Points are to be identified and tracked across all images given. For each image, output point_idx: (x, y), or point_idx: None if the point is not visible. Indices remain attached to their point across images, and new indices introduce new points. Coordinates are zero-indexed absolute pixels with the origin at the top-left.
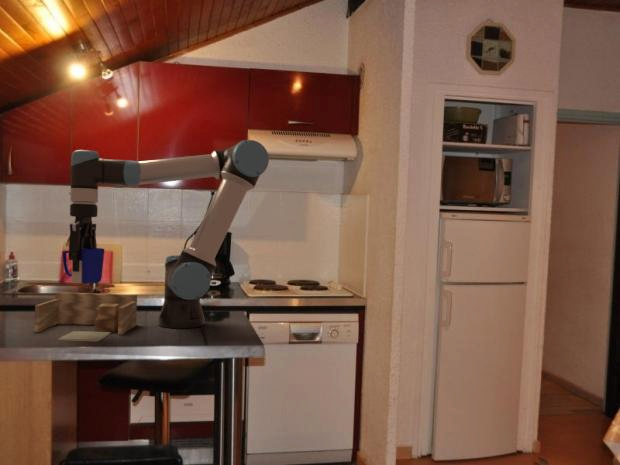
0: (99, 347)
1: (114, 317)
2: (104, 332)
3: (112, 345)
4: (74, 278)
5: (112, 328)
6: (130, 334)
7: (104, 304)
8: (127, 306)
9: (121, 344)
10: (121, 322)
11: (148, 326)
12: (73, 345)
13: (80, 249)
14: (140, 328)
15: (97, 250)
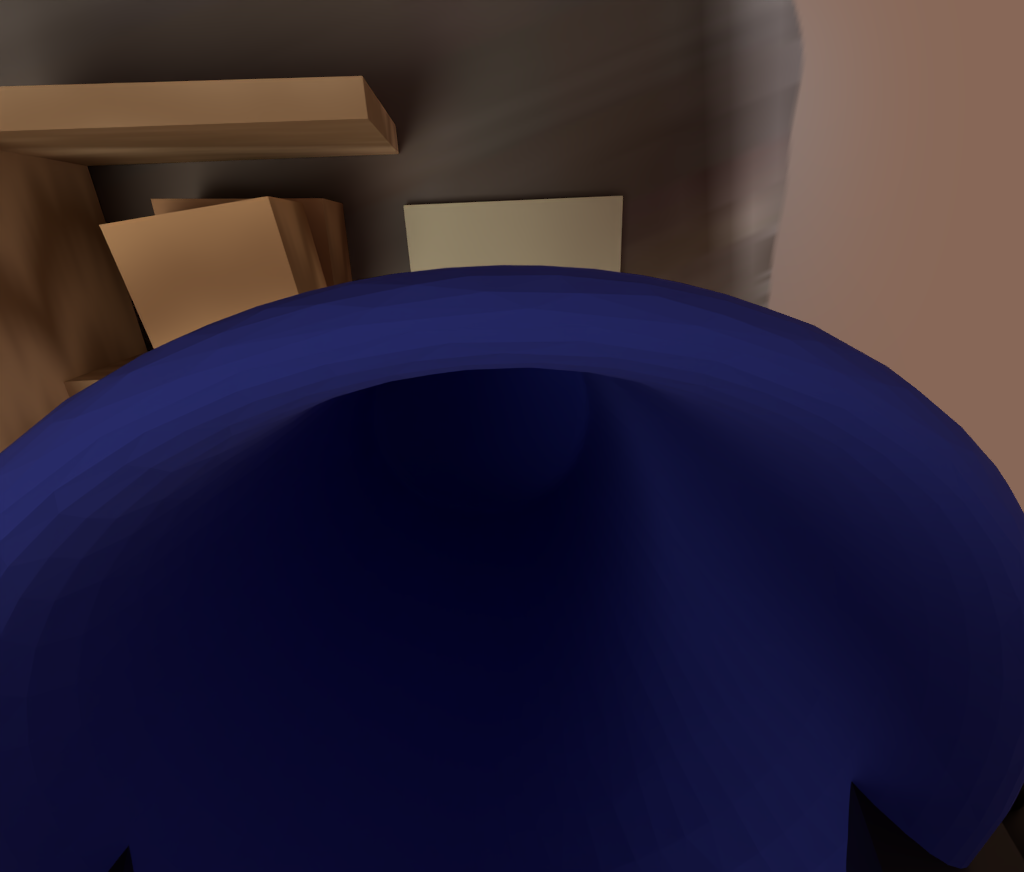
0: (760, 127)
1: (298, 206)
2: (421, 237)
3: (709, 67)
4: None
5: (338, 214)
6: (375, 65)
7: (198, 328)
8: (209, 82)
9: (680, 16)
10: (383, 114)
11: (41, 21)
12: (713, 284)
13: (1010, 860)
14: (146, 63)
15: (923, 413)
